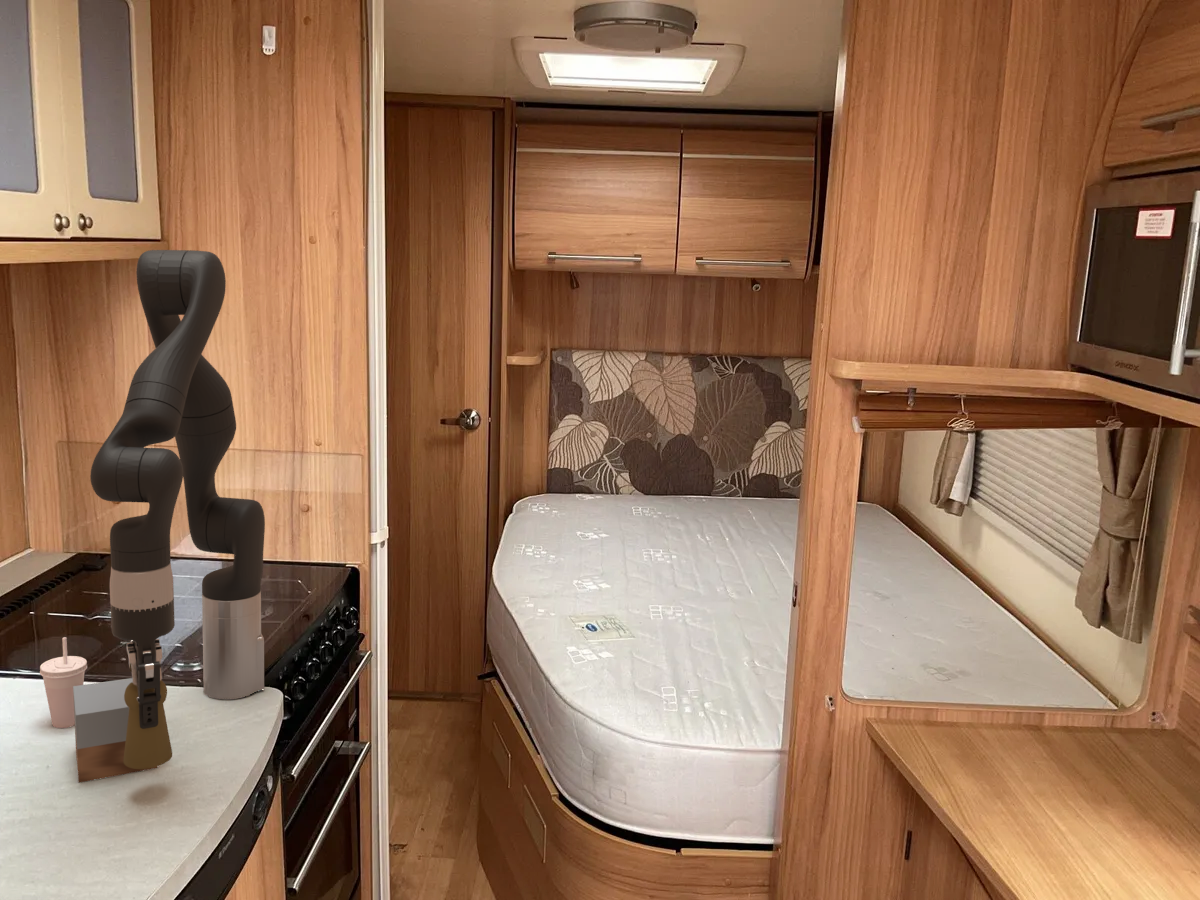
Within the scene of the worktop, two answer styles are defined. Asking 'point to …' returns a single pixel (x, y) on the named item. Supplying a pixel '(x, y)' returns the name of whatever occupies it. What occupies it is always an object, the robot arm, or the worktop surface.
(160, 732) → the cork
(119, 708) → the slate top block
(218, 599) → the robot arm
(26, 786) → the worktop surface
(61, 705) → the smoothie
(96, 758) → the walnut base block
